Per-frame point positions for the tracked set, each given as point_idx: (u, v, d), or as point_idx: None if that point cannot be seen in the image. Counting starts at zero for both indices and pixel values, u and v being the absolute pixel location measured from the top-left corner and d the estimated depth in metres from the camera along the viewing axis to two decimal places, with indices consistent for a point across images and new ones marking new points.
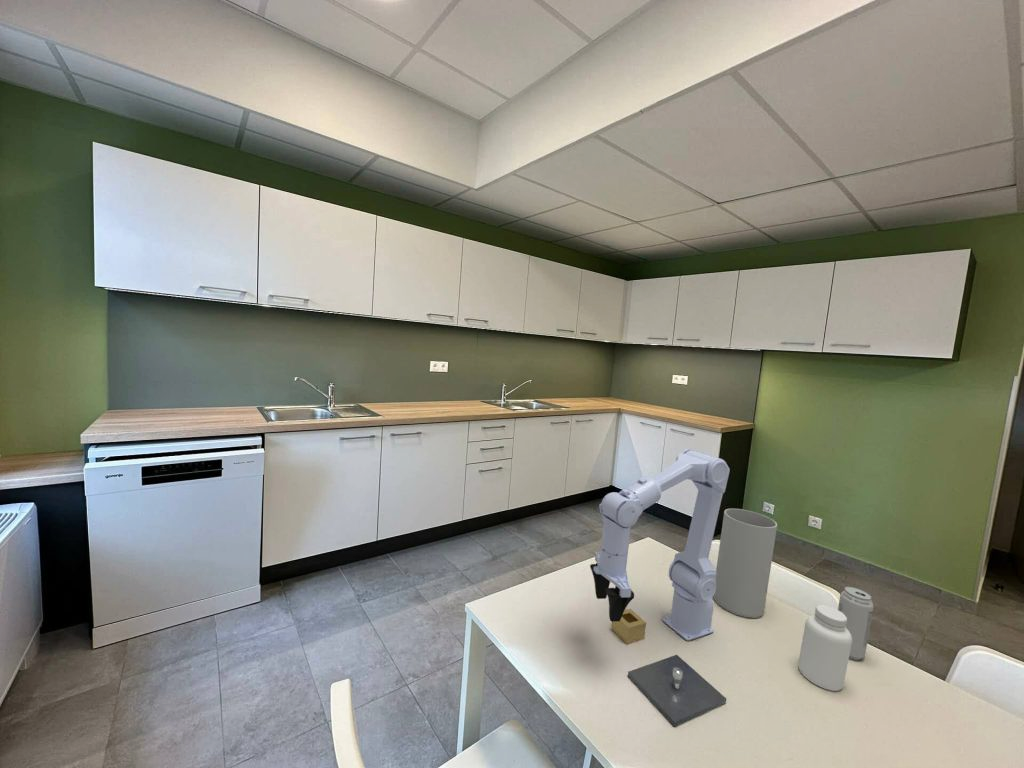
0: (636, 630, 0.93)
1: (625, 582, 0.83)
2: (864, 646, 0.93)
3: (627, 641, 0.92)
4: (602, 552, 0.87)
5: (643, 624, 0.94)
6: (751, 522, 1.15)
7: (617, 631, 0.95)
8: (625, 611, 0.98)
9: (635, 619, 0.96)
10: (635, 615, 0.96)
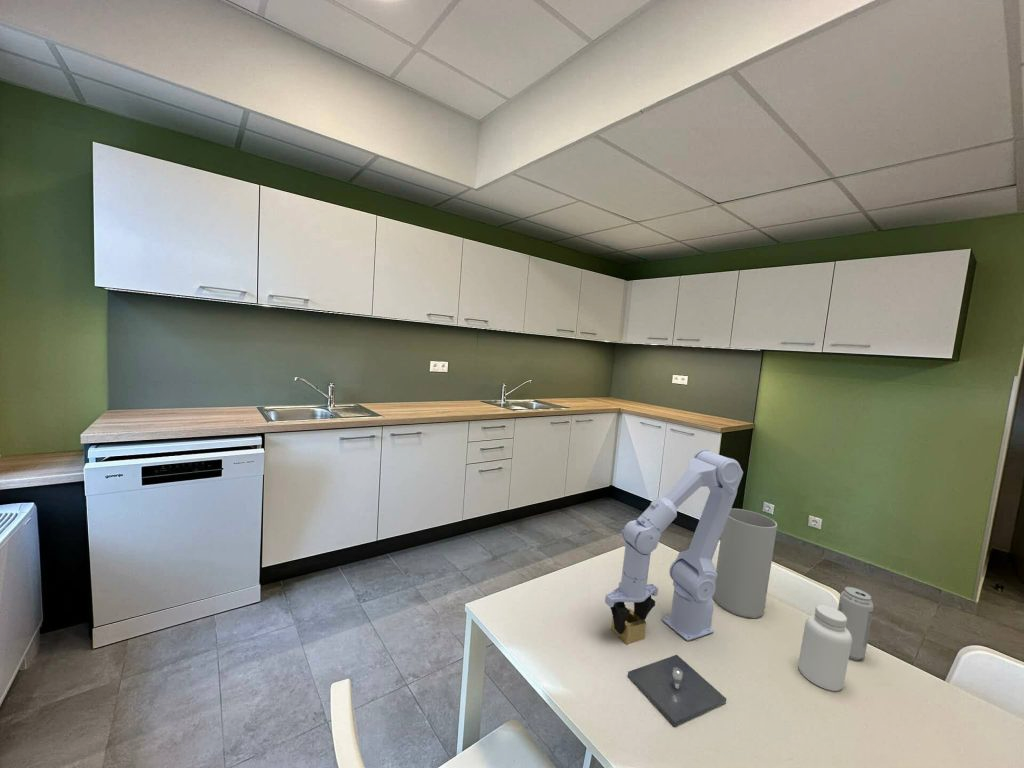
0: (636, 630, 0.93)
1: (619, 598, 0.92)
2: (864, 646, 0.93)
3: (627, 641, 0.92)
4: None
5: (643, 624, 0.94)
6: (751, 522, 1.15)
7: None
8: None
9: (635, 619, 0.96)
10: (635, 615, 0.96)
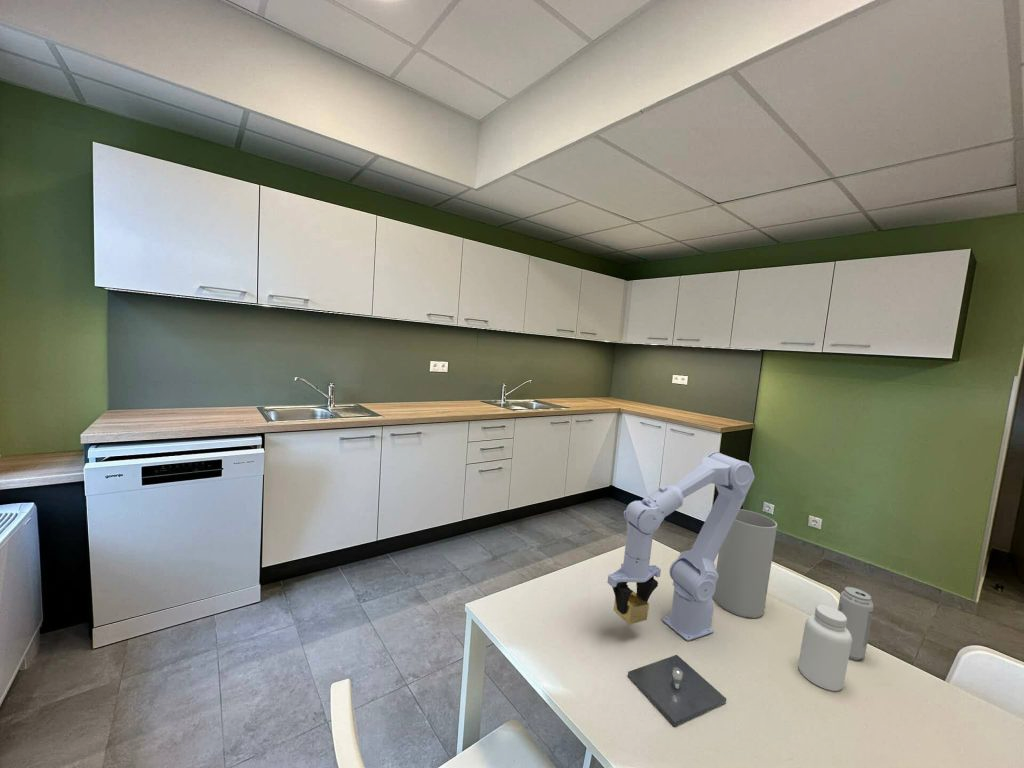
0: (639, 611, 0.93)
1: (621, 578, 0.91)
2: (864, 646, 0.93)
3: (630, 622, 0.92)
4: None
5: (646, 605, 0.93)
6: (751, 522, 1.15)
7: None
8: None
9: (637, 600, 0.95)
10: (638, 596, 0.96)
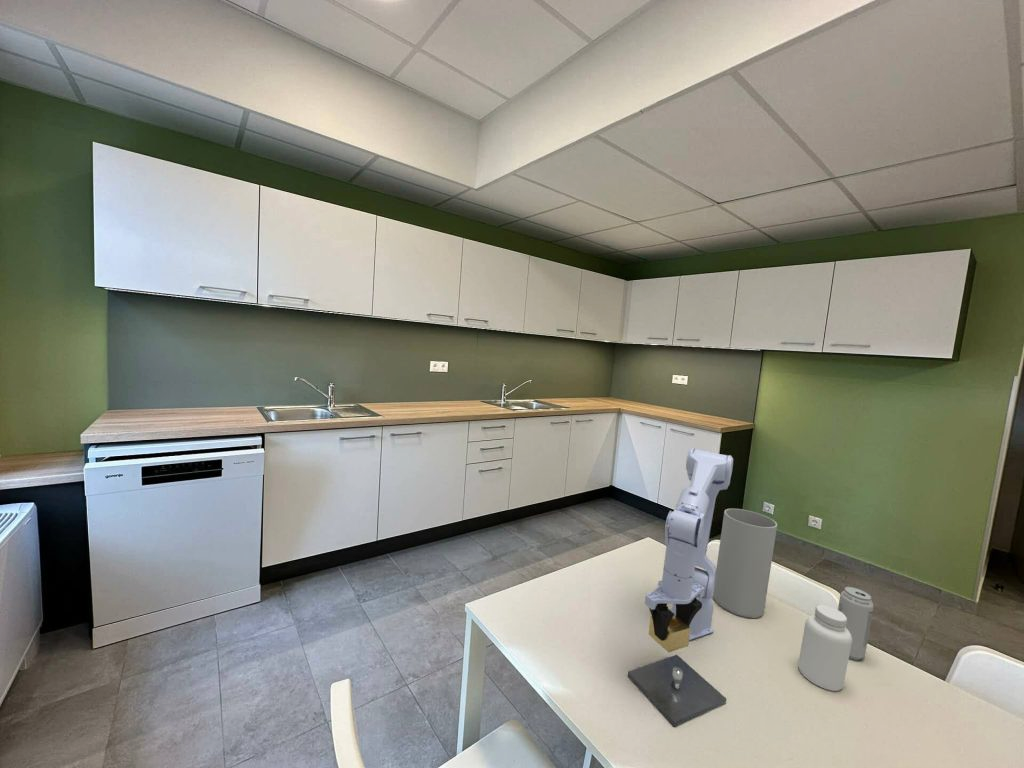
0: (679, 636, 0.80)
1: (661, 599, 0.79)
2: (864, 646, 0.93)
3: (669, 649, 0.79)
4: None
5: (687, 629, 0.81)
6: (751, 522, 1.15)
7: (656, 637, 0.82)
8: None
9: (676, 623, 0.83)
10: (676, 619, 0.84)
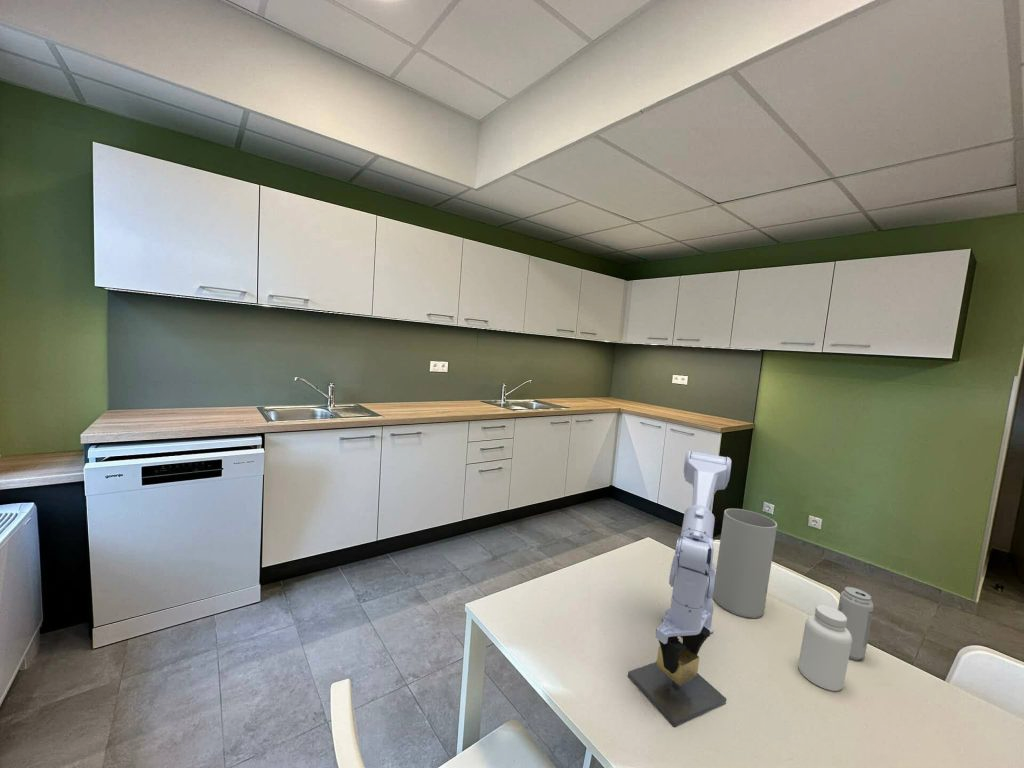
0: (689, 667, 0.78)
1: (673, 631, 0.76)
2: (864, 646, 0.93)
3: (680, 682, 0.77)
4: None
5: (696, 659, 0.79)
6: (751, 522, 1.15)
7: (665, 669, 0.79)
8: None
9: (684, 653, 0.81)
10: None
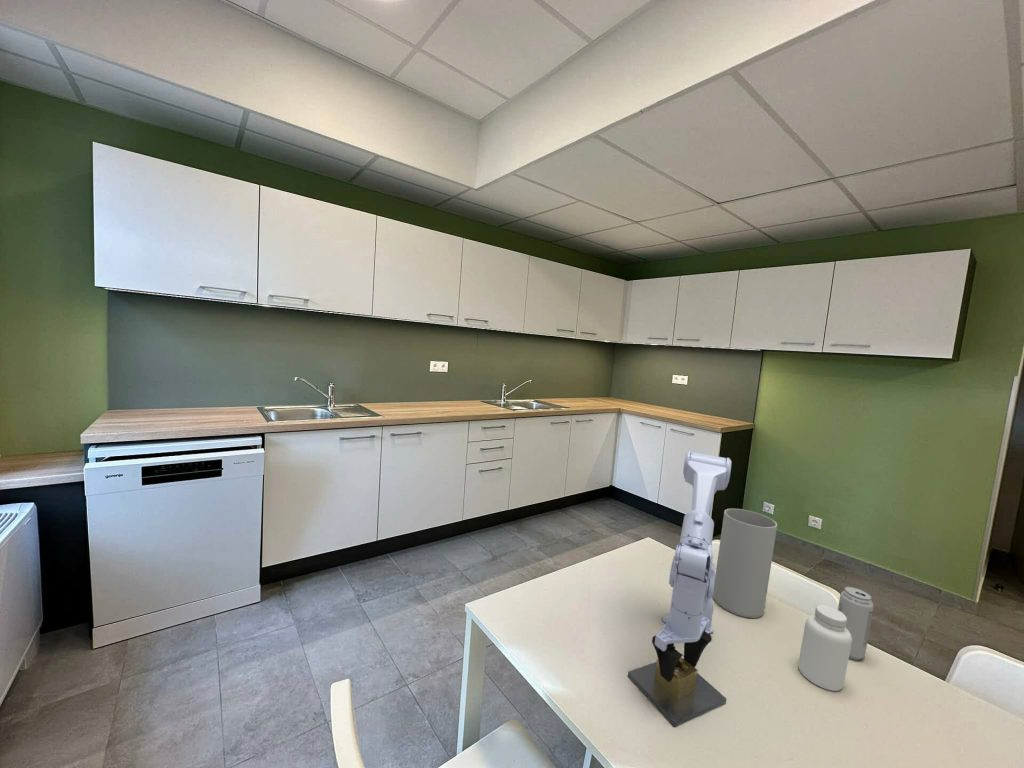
0: (688, 681, 0.78)
1: (672, 638, 0.76)
2: (864, 646, 0.93)
3: (678, 695, 0.77)
4: None
5: (694, 672, 0.79)
6: (751, 522, 1.15)
7: (664, 682, 0.80)
8: None
9: (683, 666, 0.81)
10: (682, 660, 0.82)
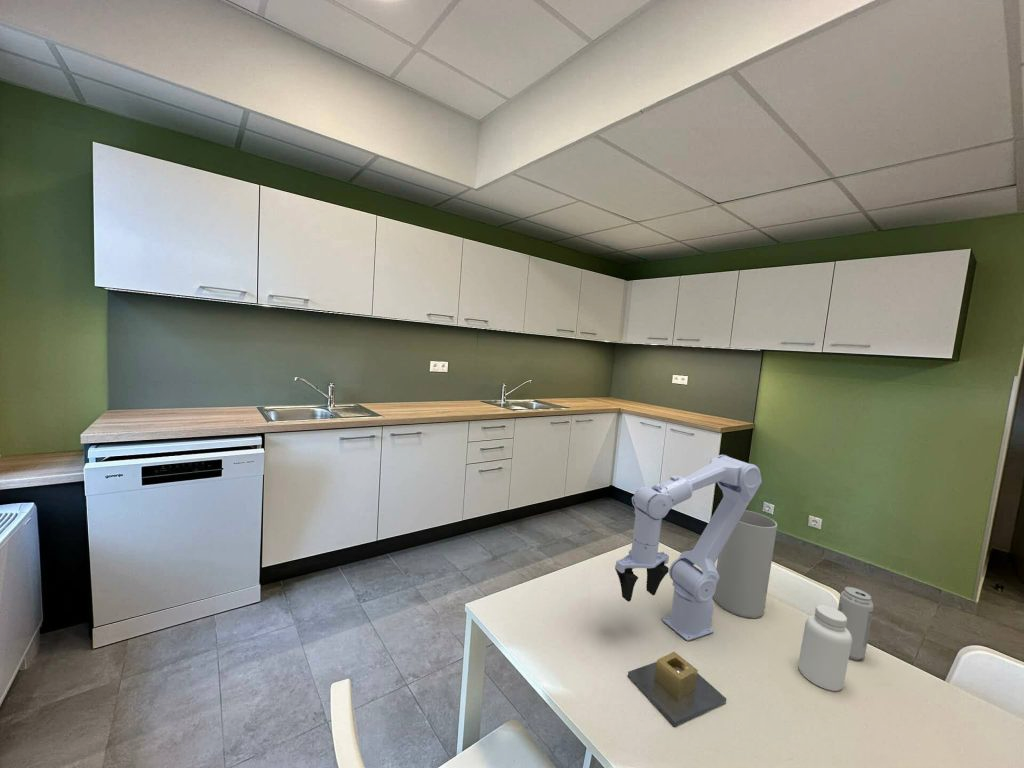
0: (688, 681, 0.78)
1: (630, 564, 0.91)
2: (864, 646, 0.93)
3: (678, 695, 0.77)
4: None
5: (694, 672, 0.79)
6: (751, 522, 1.15)
7: (664, 682, 0.80)
8: (670, 656, 0.82)
9: (683, 666, 0.81)
10: (682, 660, 0.82)
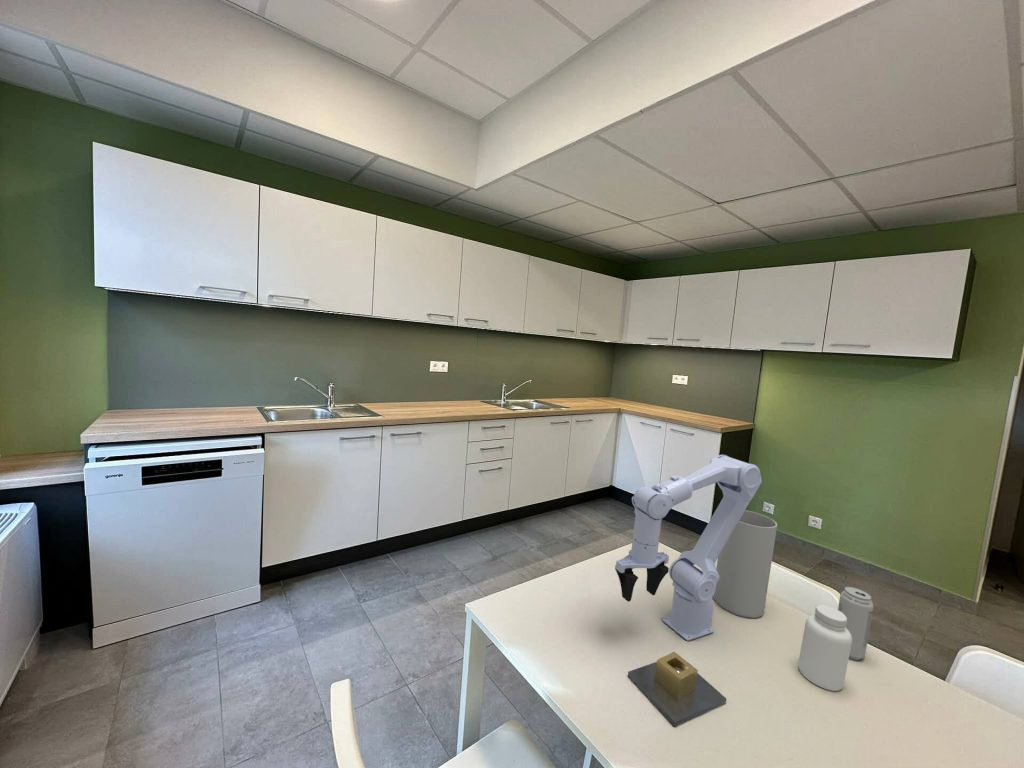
0: (688, 681, 0.78)
1: (630, 564, 0.91)
2: (864, 646, 0.93)
3: (678, 695, 0.77)
4: None
5: (694, 672, 0.79)
6: (751, 522, 1.15)
7: (664, 682, 0.80)
8: (670, 656, 0.82)
9: (683, 666, 0.81)
10: (682, 660, 0.82)
